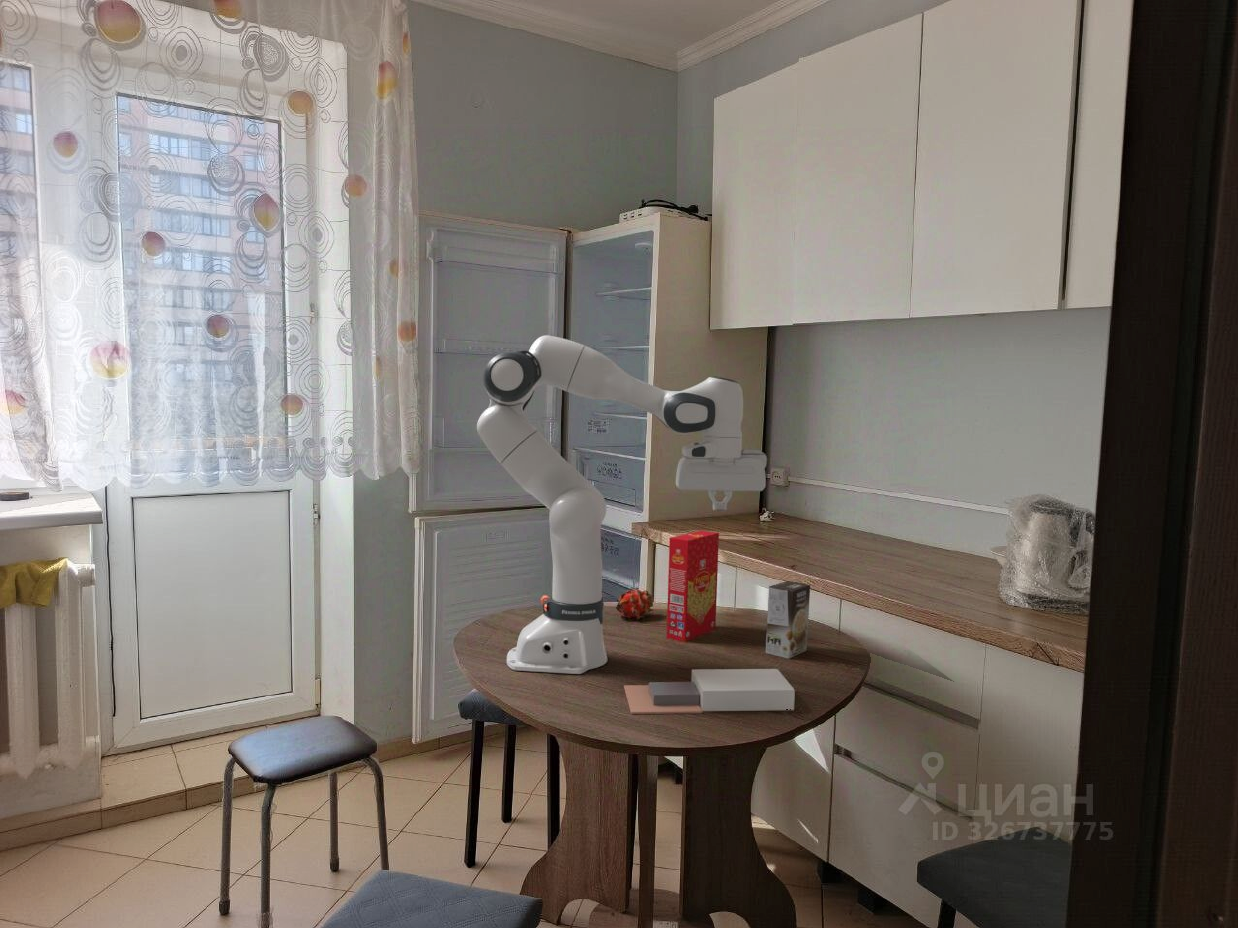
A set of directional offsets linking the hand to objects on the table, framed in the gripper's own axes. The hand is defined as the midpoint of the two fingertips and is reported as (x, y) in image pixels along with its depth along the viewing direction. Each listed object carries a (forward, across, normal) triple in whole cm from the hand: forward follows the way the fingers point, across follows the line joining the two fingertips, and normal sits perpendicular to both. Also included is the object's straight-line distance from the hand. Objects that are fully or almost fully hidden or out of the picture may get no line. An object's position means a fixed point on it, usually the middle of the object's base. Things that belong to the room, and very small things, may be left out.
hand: (719, 510), depth 189 cm
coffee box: (+34, -18, -3) cm, 39 cm away
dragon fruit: (+34, +15, -32) cm, 49 cm away
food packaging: (+34, +2, -18) cm, 39 cm away
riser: (+34, 0, +26) cm, 43 cm away
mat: (+34, +16, +26) cm, 46 cm away
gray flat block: (+34, +14, +26) cm, 45 cm away
